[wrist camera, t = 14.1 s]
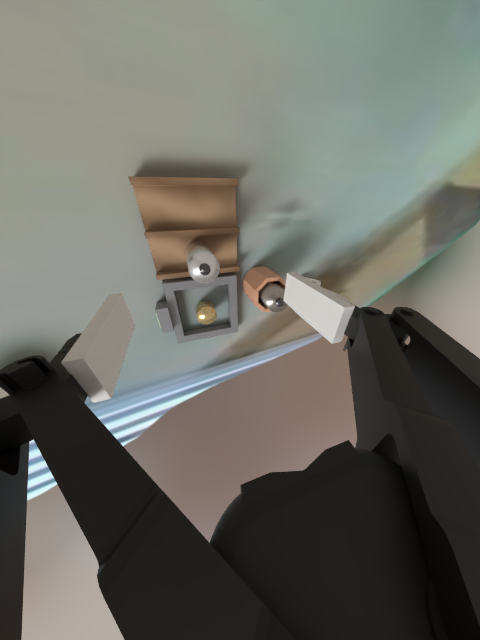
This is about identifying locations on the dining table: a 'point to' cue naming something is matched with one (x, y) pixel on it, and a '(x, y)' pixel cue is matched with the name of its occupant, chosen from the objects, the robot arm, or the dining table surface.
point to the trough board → (188, 220)
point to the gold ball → (205, 312)
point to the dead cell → (273, 296)
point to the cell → (201, 262)
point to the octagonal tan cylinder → (260, 284)
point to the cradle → (171, 315)
